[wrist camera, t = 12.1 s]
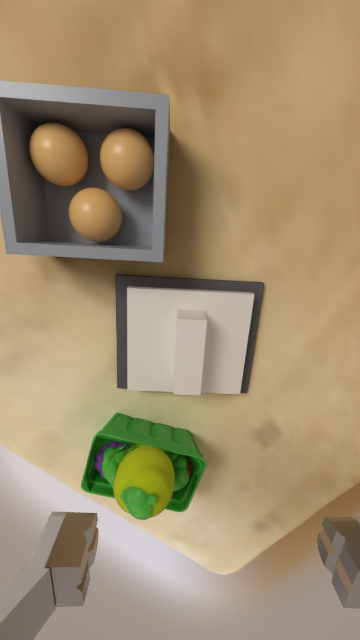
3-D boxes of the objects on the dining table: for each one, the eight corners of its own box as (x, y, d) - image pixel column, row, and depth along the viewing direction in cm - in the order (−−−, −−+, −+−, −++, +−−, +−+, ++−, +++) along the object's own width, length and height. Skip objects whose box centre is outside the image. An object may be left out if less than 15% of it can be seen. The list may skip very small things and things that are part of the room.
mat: (262, 282, 26) (264, 283, 25) (245, 389, 30) (247, 392, 29) (116, 274, 25) (115, 275, 25) (118, 385, 29) (117, 388, 29)
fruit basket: (92, 452, 32) (52, 564, 21) (109, 391, 29) (73, 481, 19) (183, 473, 33) (188, 587, 23) (207, 415, 31) (225, 513, 20)
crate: (170, 130, 22) (169, 94, 16) (165, 255, 25) (162, 262, 19) (32, 120, 21) (-18, 79, 16) (45, 248, 25) (6, 253, 19)
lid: (249, 290, 26) (265, 302, 21) (236, 385, 29) (247, 413, 24) (129, 284, 25) (120, 295, 21) (129, 381, 28) (122, 409, 24)
